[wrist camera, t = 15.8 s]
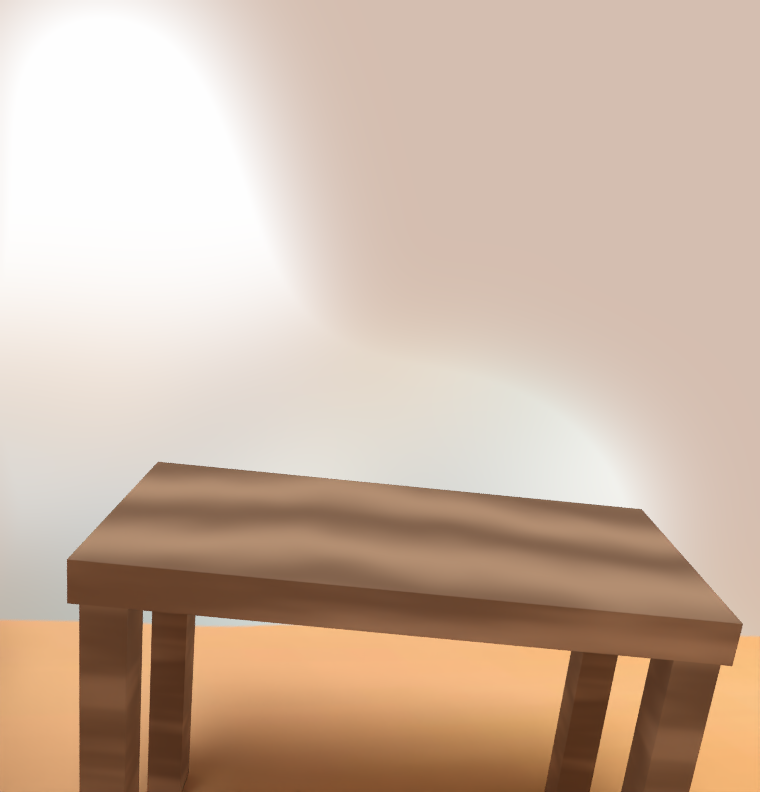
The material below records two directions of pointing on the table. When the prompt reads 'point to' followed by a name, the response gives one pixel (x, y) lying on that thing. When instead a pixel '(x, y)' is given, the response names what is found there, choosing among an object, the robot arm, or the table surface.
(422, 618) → the walnut stool
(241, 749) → the table surface
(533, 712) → the table surface
